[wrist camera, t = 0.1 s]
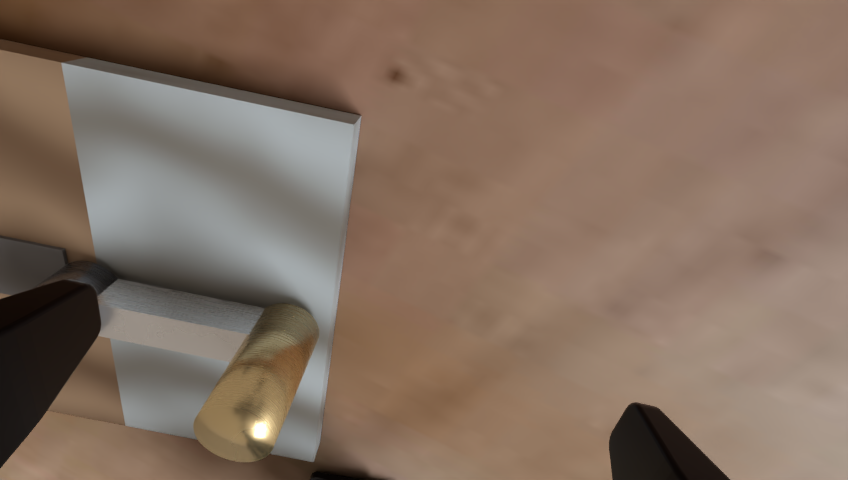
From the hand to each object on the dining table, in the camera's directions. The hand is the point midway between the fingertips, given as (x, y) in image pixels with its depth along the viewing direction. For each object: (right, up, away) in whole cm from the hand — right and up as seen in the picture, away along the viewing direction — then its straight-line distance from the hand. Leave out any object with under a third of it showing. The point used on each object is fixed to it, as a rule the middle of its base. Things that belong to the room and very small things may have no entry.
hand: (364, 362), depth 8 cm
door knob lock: (-11, -2, +16) cm, 19 cm away
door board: (-16, 0, +18) cm, 24 cm away
